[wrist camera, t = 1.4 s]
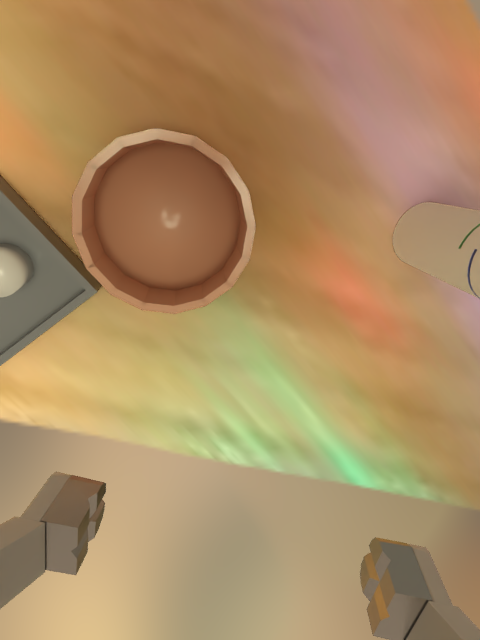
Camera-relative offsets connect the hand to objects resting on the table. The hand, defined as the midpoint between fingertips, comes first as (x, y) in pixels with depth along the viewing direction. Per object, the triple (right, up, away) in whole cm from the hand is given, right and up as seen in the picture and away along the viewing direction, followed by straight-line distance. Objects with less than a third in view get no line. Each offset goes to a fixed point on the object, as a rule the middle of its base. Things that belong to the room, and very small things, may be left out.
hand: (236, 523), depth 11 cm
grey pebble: (-23, +12, +26) cm, 37 cm away
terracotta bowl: (-7, +16, +27) cm, 32 cm away
